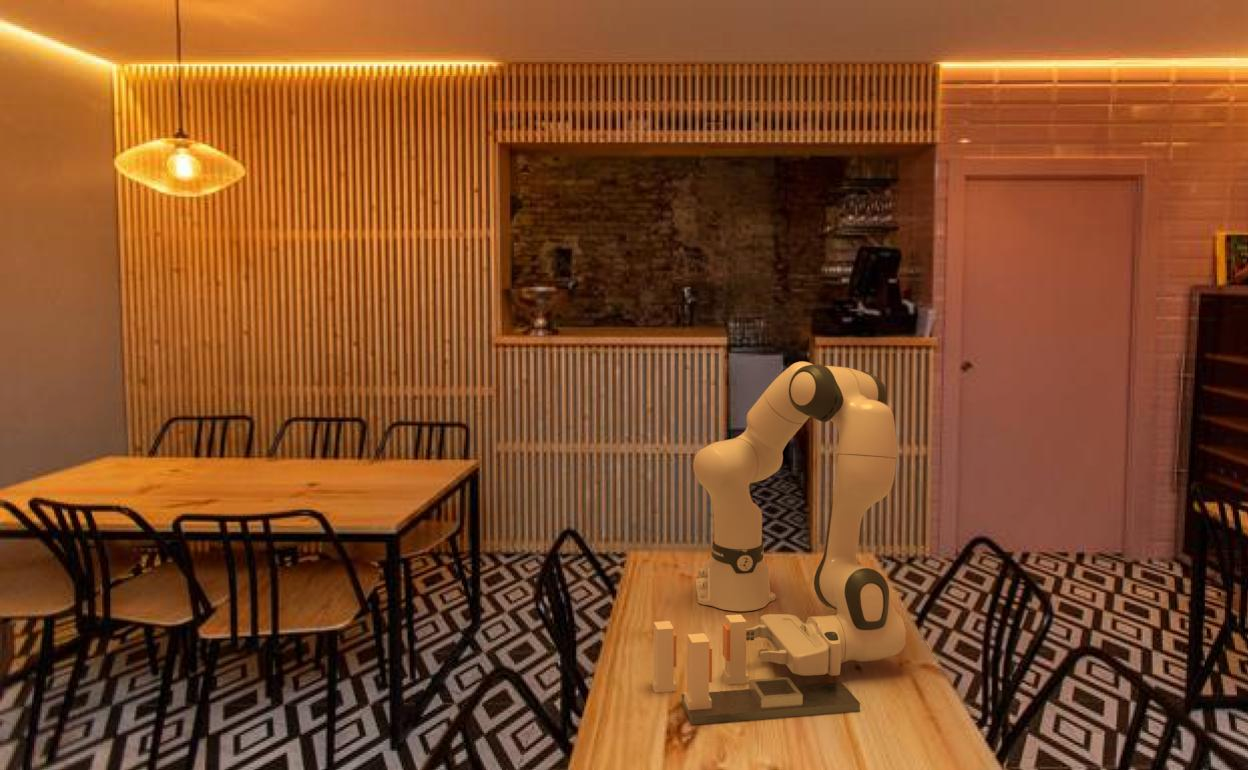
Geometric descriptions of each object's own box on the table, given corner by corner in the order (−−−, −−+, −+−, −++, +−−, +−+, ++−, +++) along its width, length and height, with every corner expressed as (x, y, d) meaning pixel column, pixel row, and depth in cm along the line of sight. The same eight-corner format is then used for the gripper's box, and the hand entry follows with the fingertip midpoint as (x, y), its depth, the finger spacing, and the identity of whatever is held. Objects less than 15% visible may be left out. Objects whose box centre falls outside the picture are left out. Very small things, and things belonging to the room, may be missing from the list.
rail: (681, 702, 148) (681, 683, 148) (840, 689, 153) (841, 671, 153) (691, 725, 141) (692, 705, 140) (859, 711, 145) (860, 692, 145)
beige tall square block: (721, 676, 159) (722, 615, 157) (742, 674, 159) (743, 614, 158) (727, 684, 155) (727, 622, 154) (748, 683, 156) (749, 621, 154)
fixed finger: (684, 700, 146) (684, 634, 145) (706, 698, 147) (707, 633, 145) (688, 710, 143) (689, 642, 141) (712, 708, 143) (712, 641, 142)
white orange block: (651, 684, 155) (651, 622, 154) (672, 682, 156) (672, 620, 155) (654, 693, 152) (654, 629, 151) (676, 691, 153) (676, 628, 151)
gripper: (801, 604, 169) (735, 608, 167) (843, 646, 149) (769, 651, 147) (801, 634, 170) (735, 638, 167) (842, 679, 150) (768, 685, 147)
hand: (751, 645), depth 157 cm, fingers open, 8 cm apart
